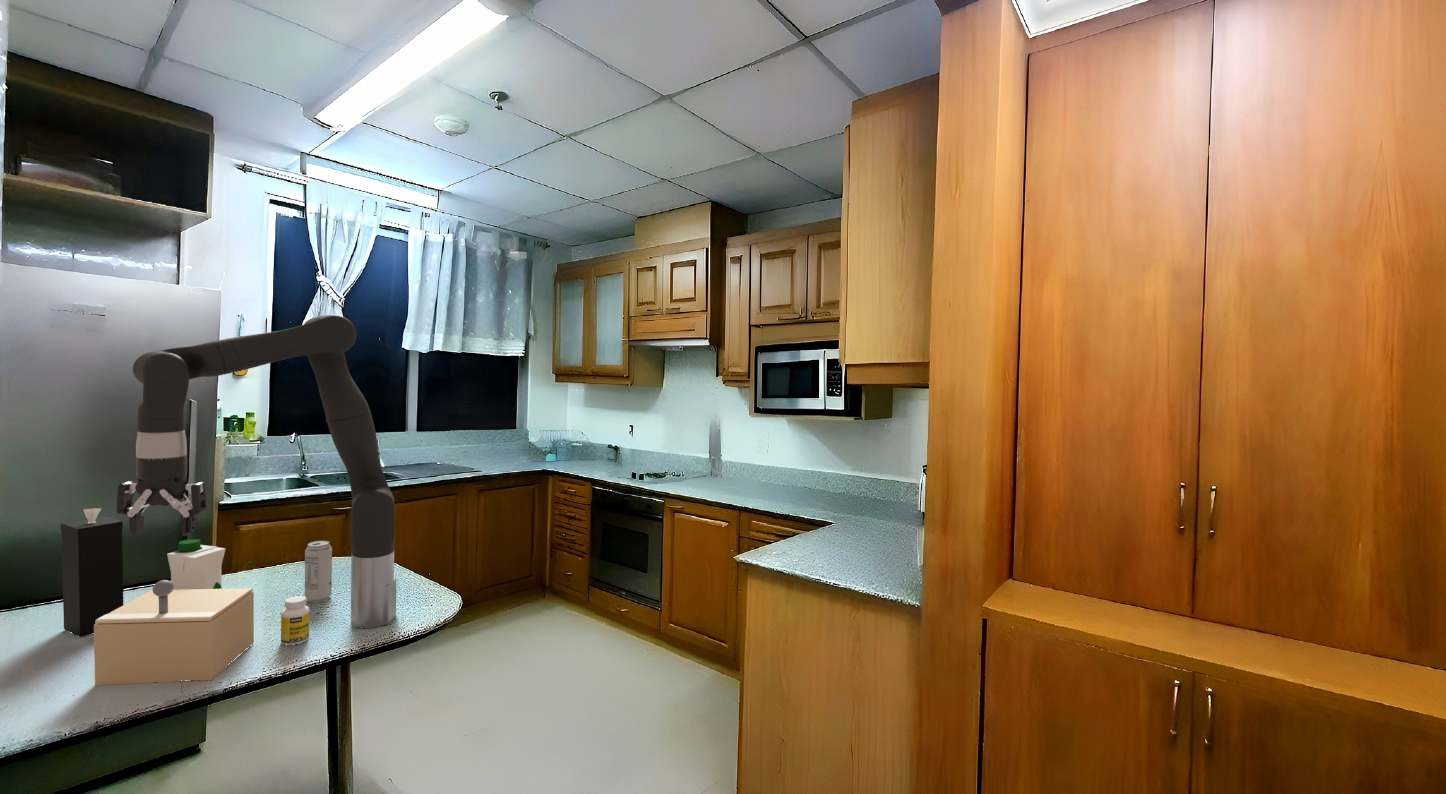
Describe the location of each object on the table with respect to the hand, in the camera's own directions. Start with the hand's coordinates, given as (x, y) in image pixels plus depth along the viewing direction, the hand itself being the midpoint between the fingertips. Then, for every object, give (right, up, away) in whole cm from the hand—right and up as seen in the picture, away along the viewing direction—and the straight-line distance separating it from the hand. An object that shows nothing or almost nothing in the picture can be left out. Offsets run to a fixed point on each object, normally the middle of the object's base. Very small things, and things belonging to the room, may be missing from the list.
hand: (162, 534), depth 129 cm
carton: (-2, -28, +7) cm, 29 cm away
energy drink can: (+4, -26, +43) cm, 50 cm away
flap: (-2, -16, +6) cm, 17 cm away
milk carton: (-13, -27, +24) cm, 38 cm away
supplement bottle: (+14, -28, +19) cm, 37 cm away
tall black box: (-33, -26, +20) cm, 47 cm away
